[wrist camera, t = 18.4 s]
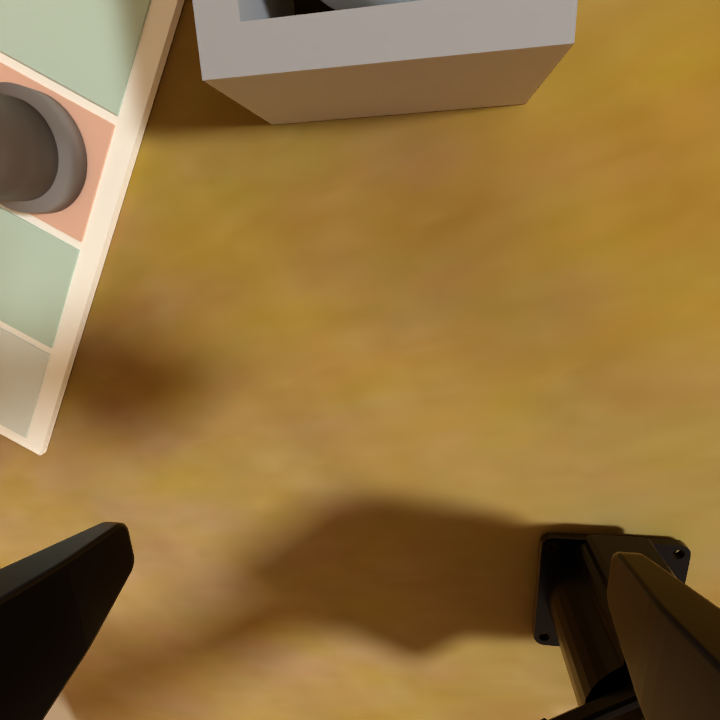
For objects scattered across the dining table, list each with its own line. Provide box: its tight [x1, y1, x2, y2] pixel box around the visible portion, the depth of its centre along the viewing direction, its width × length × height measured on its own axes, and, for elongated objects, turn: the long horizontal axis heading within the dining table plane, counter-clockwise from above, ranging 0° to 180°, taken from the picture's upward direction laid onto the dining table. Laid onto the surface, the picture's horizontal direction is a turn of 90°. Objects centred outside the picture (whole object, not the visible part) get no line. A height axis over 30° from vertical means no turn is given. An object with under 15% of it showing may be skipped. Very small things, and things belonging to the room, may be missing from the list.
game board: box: [0, 0, 185, 455], centre depth 21 cm, size 24×8×1 cm, turn 152°
